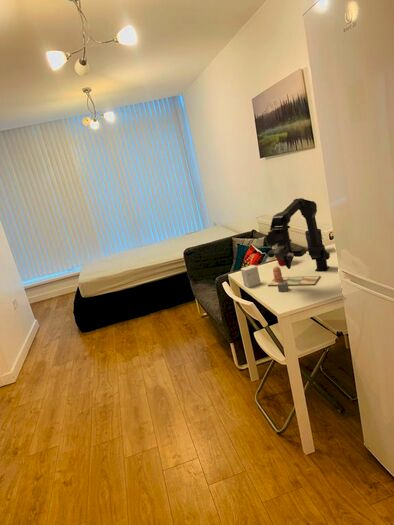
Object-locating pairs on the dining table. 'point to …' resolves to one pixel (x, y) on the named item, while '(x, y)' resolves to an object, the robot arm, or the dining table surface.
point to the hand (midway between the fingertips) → (289, 268)
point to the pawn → (277, 274)
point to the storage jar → (309, 237)
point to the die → (283, 286)
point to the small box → (250, 276)
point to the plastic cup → (278, 258)
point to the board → (297, 281)
